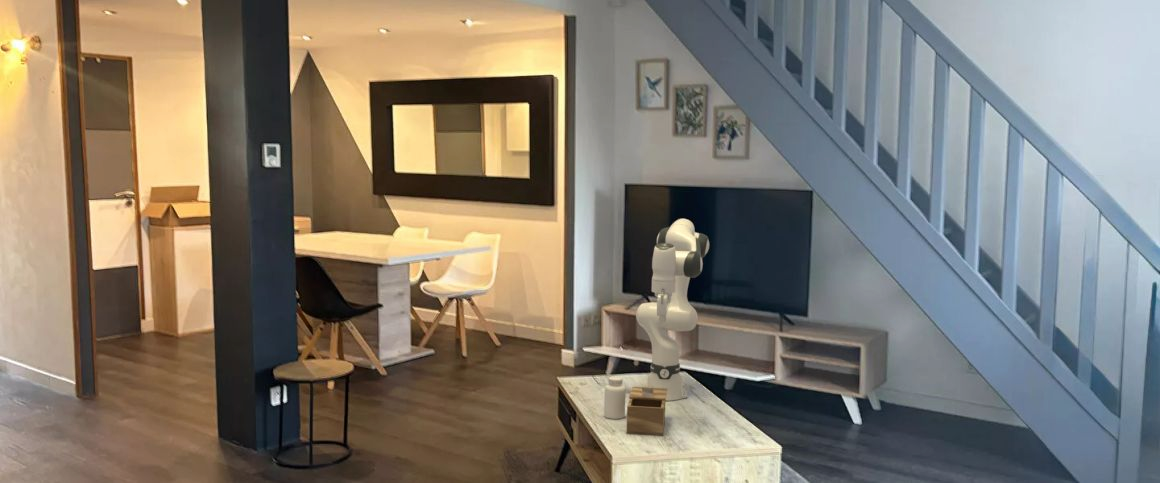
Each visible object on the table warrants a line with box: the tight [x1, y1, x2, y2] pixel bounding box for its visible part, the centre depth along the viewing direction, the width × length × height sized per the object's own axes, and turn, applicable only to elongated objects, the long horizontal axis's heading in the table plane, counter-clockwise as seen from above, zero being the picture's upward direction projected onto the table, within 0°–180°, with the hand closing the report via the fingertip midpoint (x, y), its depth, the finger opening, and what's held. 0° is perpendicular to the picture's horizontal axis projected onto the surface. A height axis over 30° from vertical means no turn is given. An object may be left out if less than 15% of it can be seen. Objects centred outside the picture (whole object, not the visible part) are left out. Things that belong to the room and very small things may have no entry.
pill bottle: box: [603, 376, 626, 420], centre depth 348 cm, size 8×8×15 cm
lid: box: [628, 385, 667, 402], centre depth 343 cm, size 14×13×4 cm
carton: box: [626, 399, 666, 437], centre depth 334 cm, size 14×13×10 cm
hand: (662, 323), depth 340 cm, fingers open, 8 cm apart
